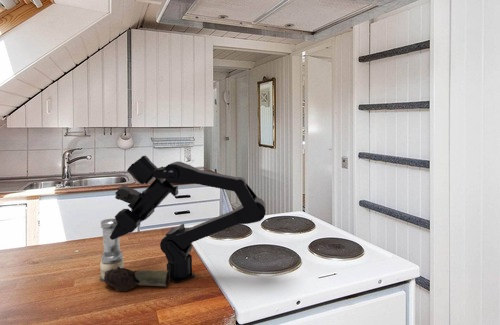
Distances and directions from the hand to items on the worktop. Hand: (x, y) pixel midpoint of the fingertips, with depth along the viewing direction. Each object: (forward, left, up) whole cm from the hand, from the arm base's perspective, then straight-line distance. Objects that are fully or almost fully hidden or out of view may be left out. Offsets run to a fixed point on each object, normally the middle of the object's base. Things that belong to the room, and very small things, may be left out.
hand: (117, 233), depth 100 cm
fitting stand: (+1, -1, -13) cm, 13 cm away
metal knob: (+1, -1, -8) cm, 8 cm away
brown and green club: (-1, +9, -14) cm, 17 cm away
